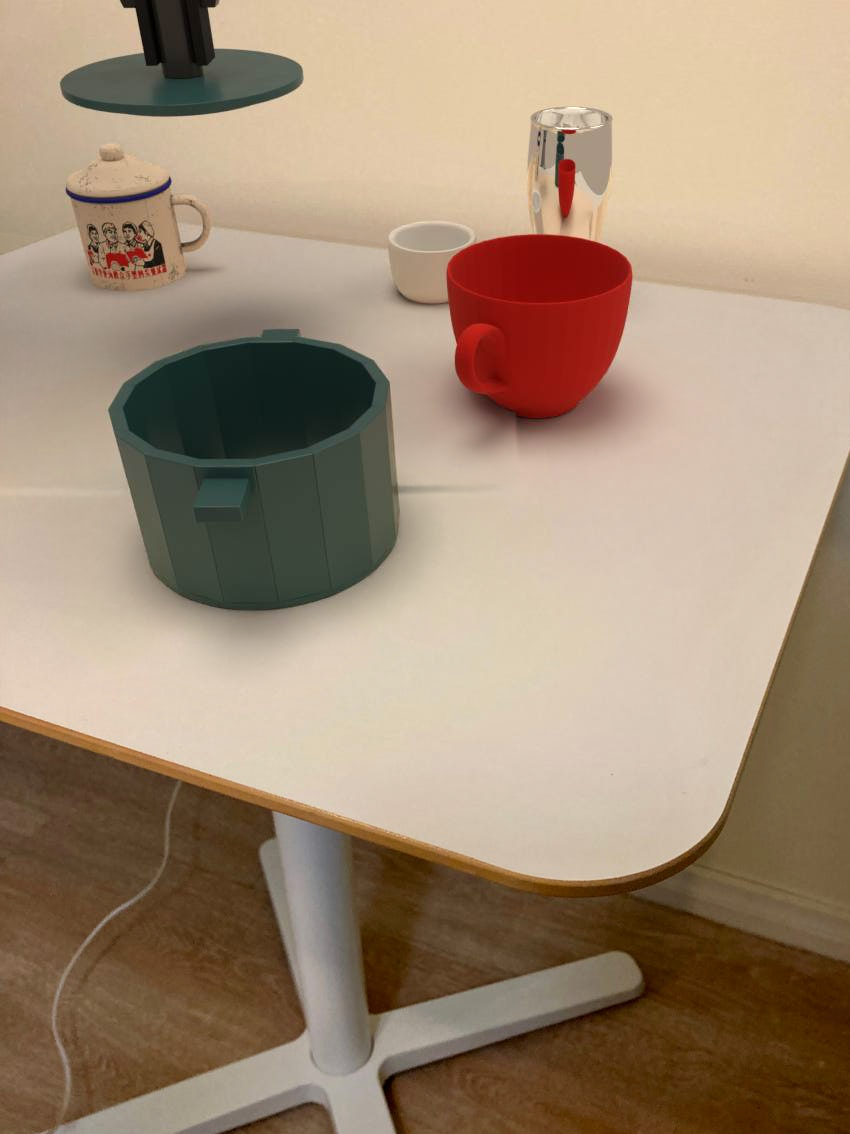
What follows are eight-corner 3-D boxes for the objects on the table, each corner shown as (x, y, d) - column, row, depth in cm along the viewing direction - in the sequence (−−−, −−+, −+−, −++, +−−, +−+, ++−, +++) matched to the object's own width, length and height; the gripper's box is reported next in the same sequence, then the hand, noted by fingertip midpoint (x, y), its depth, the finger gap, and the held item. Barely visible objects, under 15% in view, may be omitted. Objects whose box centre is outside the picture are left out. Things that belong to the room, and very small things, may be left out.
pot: (104, 641, 58) (56, 495, 51) (188, 448, 73) (160, 319, 67) (384, 640, 57) (370, 494, 51) (408, 446, 73) (400, 317, 67)
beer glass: (613, 292, 94) (627, 110, 84) (586, 321, 89) (597, 132, 79) (542, 280, 96) (547, 102, 86) (512, 308, 91) (513, 123, 81)
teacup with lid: (80, 299, 94) (44, 163, 86) (100, 262, 101) (68, 133, 93) (214, 294, 94) (190, 158, 87) (225, 257, 101) (203, 128, 94)
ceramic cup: (386, 436, 74) (375, 301, 68) (504, 346, 85) (504, 222, 79) (546, 484, 69) (551, 343, 63) (650, 382, 80) (663, 252, 74)
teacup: (491, 305, 92) (490, 243, 88) (409, 320, 89) (406, 258, 86) (448, 266, 99) (446, 208, 95) (372, 280, 96) (367, 220, 93)
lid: (30, 125, 68) (-20, -61, 61) (103, 66, 81) (68, -94, 74) (286, 124, 68) (264, -63, 61) (318, 65, 81) (303, -95, 74)
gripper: (-71, -420, 55) (51, 74, 70) (228, -423, 55) (285, 73, 70) (-18, -404, 61) (84, 50, 76) (253, -407, 60) (301, 49, 76)
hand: (181, 60), depth 73 cm, fingers closed on lid, 3 cm apart
